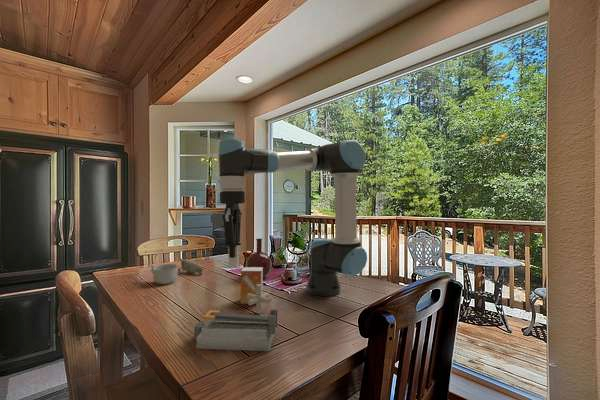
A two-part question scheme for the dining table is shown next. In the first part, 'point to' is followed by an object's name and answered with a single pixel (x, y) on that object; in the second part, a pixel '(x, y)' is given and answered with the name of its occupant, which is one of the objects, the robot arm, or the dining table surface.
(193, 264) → the decorative bird
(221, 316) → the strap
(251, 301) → the pipe connector
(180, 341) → the dining table surface
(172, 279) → the teacup
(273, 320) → the heatsink
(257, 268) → the small box
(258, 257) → the round-bottom flask
